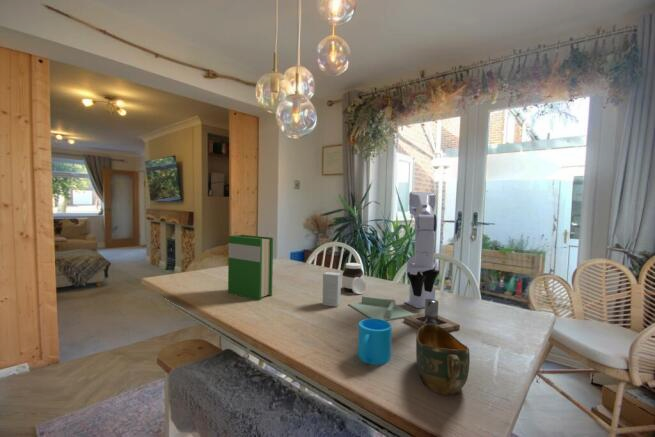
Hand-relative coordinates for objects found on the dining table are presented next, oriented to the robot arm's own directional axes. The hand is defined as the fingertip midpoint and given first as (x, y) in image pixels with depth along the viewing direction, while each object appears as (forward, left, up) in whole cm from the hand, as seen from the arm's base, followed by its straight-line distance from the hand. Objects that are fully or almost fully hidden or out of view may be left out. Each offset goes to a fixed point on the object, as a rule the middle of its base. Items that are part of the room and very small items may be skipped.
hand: (422, 293), depth 98 cm
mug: (+28, +13, -10) cm, 33 cm away
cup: (+19, +26, -10) cm, 33 cm away
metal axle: (-2, +2, -10) cm, 10 cm away
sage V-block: (+5, -16, -10) cm, 19 cm away
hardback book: (+45, -52, -10) cm, 69 cm away
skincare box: (+19, -28, -10) cm, 35 cm away
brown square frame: (-2, +2, -10) cm, 10 cm away
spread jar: (+1, -41, -10) cm, 42 cm away
